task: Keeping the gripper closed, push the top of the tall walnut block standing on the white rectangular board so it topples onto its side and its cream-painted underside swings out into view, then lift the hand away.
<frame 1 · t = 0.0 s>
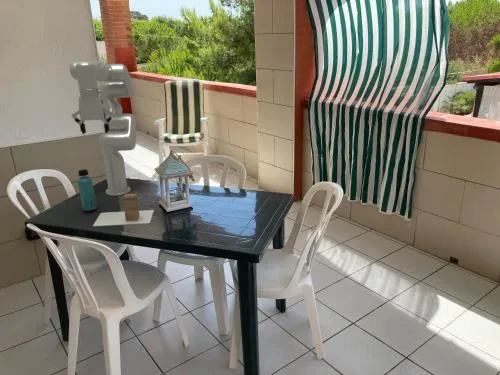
hand: (95, 132, 177), 37 cm above the table, tool pointing down, fingers open, 9 cm apart
walnut block: (132, 219, 178), resting on white rectangular board
white rectangular board: (124, 218, 180), on the table
beverage bottle: (90, 211, 189), on the table
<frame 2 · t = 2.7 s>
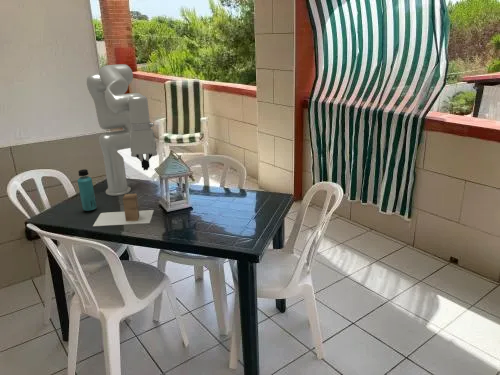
hand: (146, 169, 171), 23 cm above the table, tool pointing down, fingers closed
nothing on the table moved.
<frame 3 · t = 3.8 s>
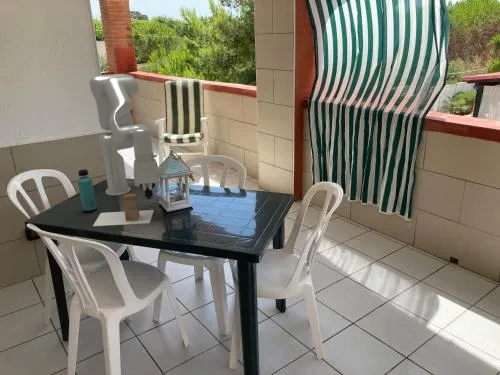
hand: (149, 197, 175), 10 cm above the table, tool pointing down, fingers closed
nothing on the table moved.
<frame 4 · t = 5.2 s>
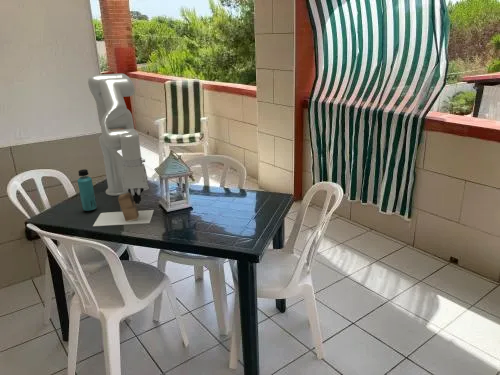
hand: (137, 202, 176), 8 cm above the table, tool pointing down, fingers closed
walnut block: (132, 218, 178), point 1 cm above the table, tilted 11°, touching white rectangular board
everything else where it was.
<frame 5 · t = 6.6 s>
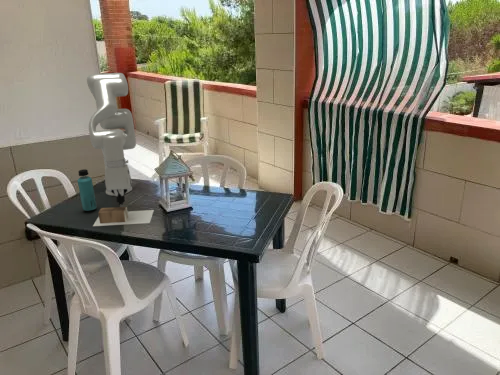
hand: (121, 203, 175), 8 cm above the table, tool pointing down, fingers closed
walnut block: (126, 214, 177), point 3 cm above the table, tilted 90°, touching white rectangular board
everything else where it was.
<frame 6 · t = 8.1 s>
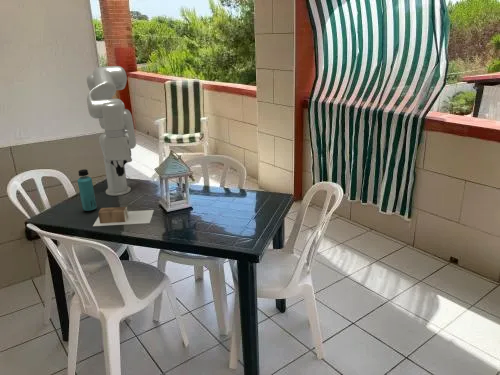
hand: (120, 175, 172), 21 cm above the table, tool pointing down, fingers closed
nothing on the table moved.
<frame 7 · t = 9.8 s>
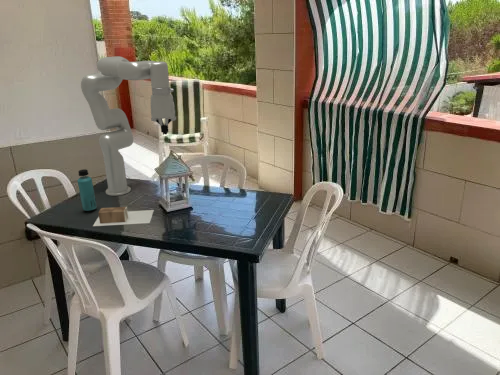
hand: (165, 133, 180), 35 cm above the table, tool pointing down, fingers closed
nothing on the table moved.
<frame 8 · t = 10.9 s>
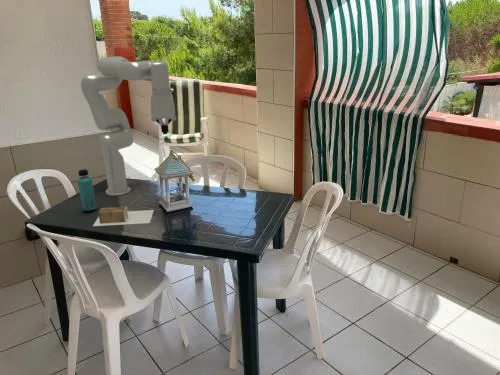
hand: (165, 133, 180), 35 cm above the table, tool pointing down, fingers closed
nothing on the table moved.
at the end: walnut block tilted 90°; walnut block inside the target area (1.5 cm from its centre), point 2.9 cm above the table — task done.
